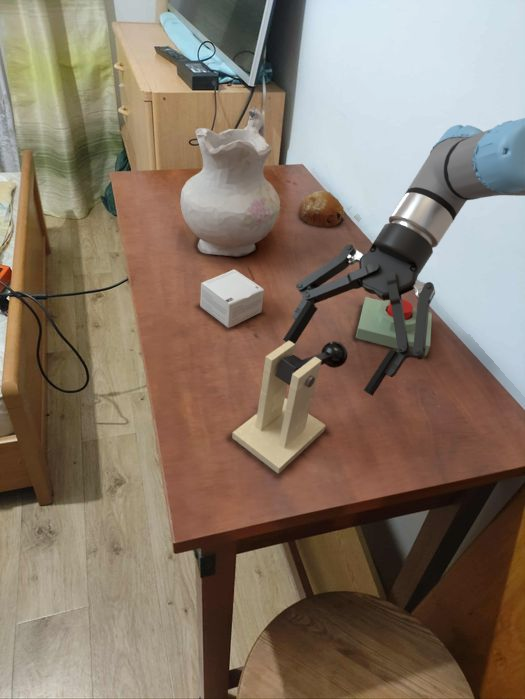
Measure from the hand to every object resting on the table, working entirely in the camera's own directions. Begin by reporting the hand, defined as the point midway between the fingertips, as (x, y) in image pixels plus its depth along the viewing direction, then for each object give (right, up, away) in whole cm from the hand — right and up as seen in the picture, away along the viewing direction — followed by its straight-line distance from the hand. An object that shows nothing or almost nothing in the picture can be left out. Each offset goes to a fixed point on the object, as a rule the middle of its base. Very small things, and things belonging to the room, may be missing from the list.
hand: (326, 367), depth 70 cm
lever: (-3, -1, -4) cm, 5 cm away
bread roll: (+5, +33, +50) cm, 60 cm away
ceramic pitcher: (-16, +25, +37) cm, 48 cm away
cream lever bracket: (-7, -9, -1) cm, 11 cm away
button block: (+14, +6, +19) cm, 25 cm away
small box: (-14, +9, +19) cm, 25 cm away
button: (+14, +9, +17) cm, 24 cm away
